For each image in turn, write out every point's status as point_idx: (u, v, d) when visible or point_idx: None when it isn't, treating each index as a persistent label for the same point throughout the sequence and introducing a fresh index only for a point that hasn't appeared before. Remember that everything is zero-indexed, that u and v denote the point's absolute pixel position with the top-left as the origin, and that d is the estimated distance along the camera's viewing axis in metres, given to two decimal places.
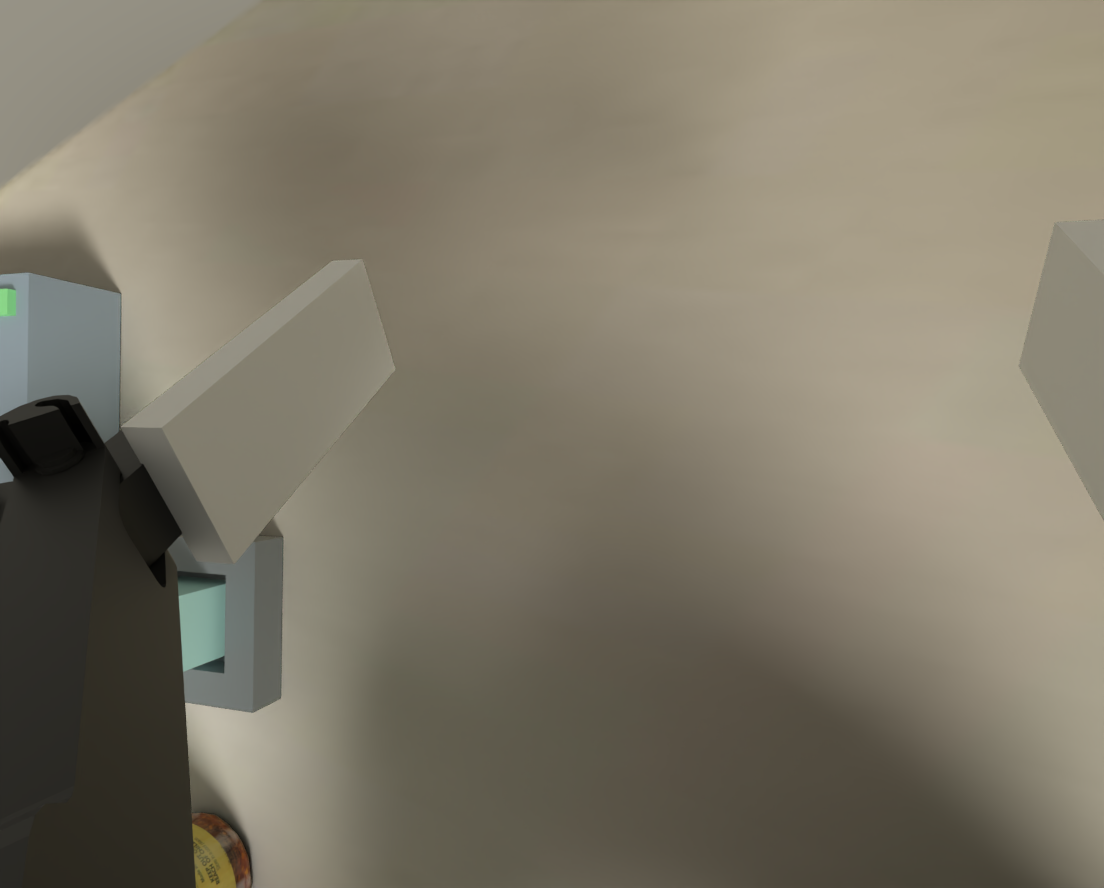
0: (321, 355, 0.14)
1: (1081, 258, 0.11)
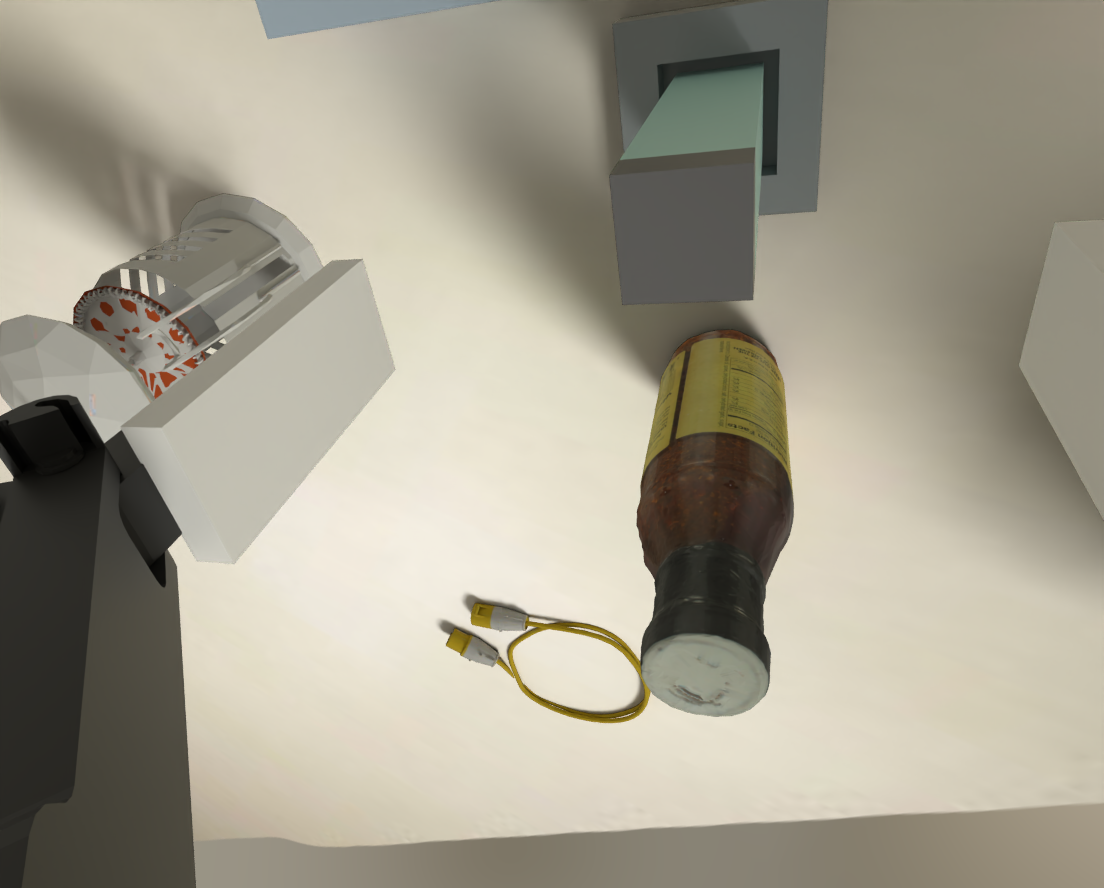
0: (321, 355, 0.14)
1: (1081, 258, 0.11)
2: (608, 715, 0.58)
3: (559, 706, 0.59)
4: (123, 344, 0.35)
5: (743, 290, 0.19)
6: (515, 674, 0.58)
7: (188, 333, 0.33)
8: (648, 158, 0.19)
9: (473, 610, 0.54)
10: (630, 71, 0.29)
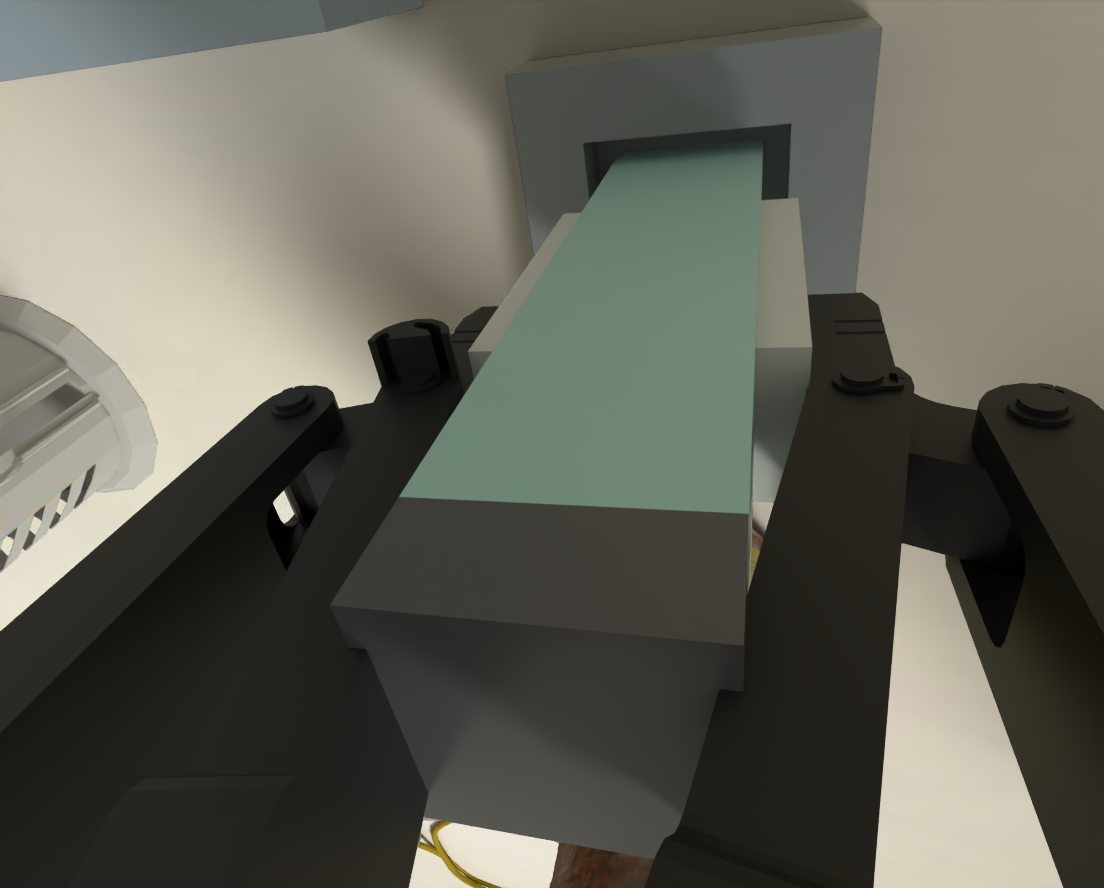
0: None
1: None
2: None
3: None
4: None
5: None
6: (443, 858, 0.46)
7: None
8: (465, 509, 0.07)
9: None
10: (539, 152, 0.17)
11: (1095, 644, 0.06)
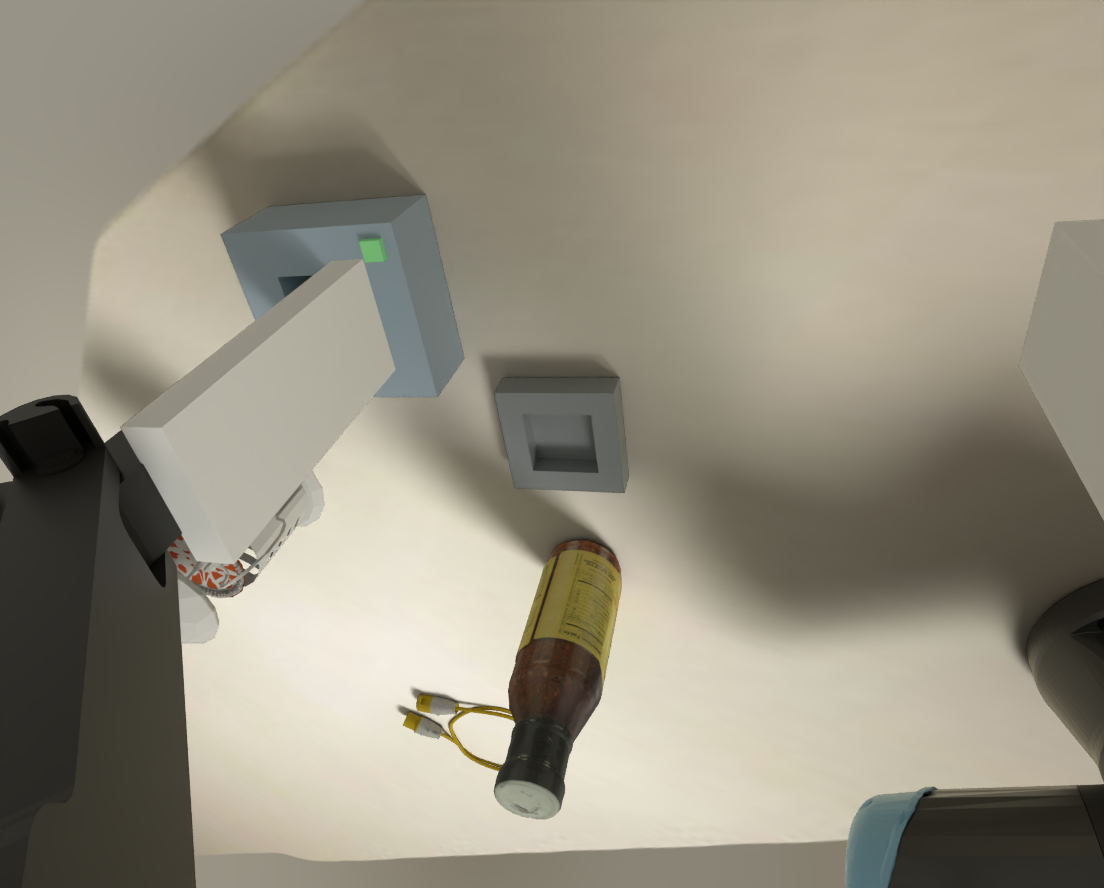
0: (321, 355, 0.14)
1: (1081, 258, 0.11)
2: None
3: (493, 764, 0.79)
4: (188, 555, 0.54)
5: None
6: (457, 743, 0.78)
7: None
8: None
9: (417, 701, 0.74)
10: (506, 415, 0.48)
11: None
